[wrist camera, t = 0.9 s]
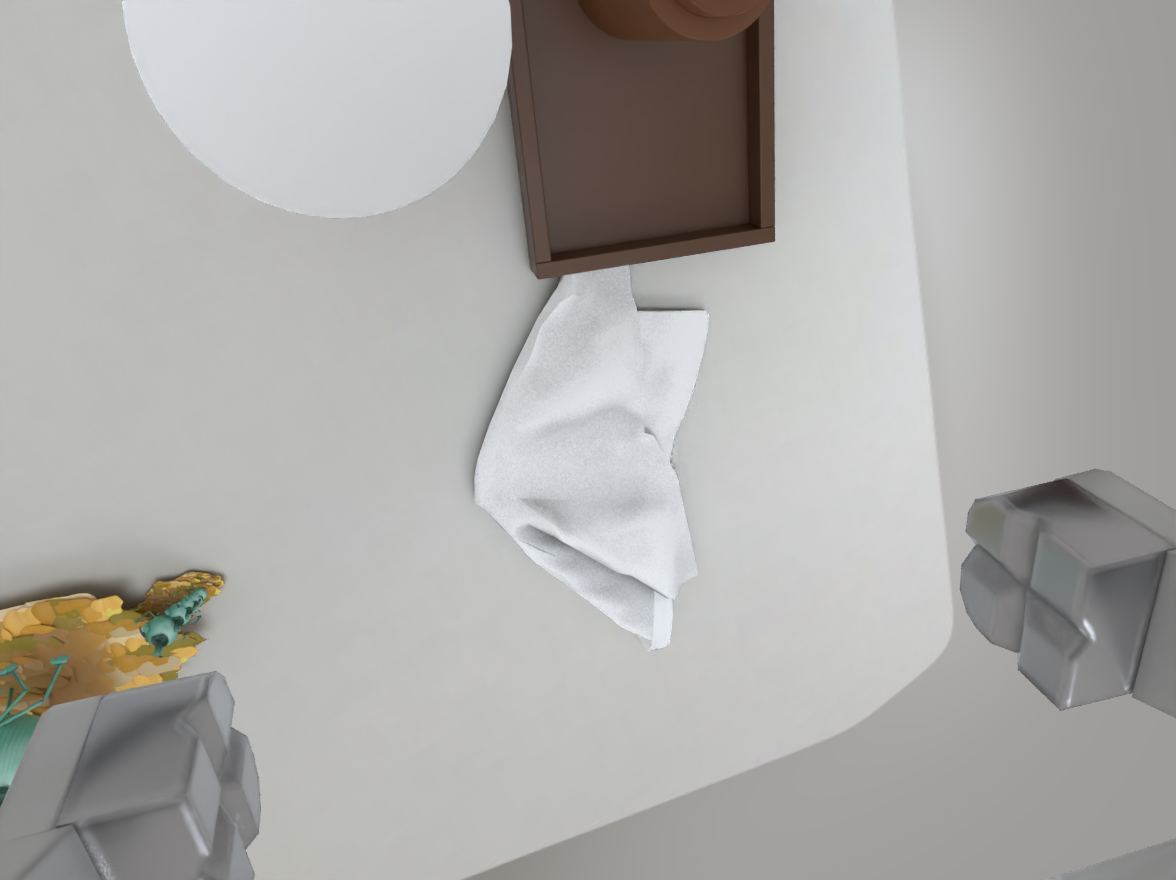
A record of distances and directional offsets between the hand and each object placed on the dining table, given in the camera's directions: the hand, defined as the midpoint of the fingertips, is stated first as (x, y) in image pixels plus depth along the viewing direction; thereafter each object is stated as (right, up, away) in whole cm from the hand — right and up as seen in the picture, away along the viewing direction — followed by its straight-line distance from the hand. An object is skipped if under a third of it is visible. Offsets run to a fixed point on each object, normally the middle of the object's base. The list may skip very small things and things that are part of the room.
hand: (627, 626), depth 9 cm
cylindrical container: (-11, +20, +30) cm, 38 cm away
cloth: (0, 0, +41) cm, 41 cm away
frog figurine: (-28, -10, +39) cm, 49 cm away
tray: (+2, +23, +32) cm, 39 cm away
